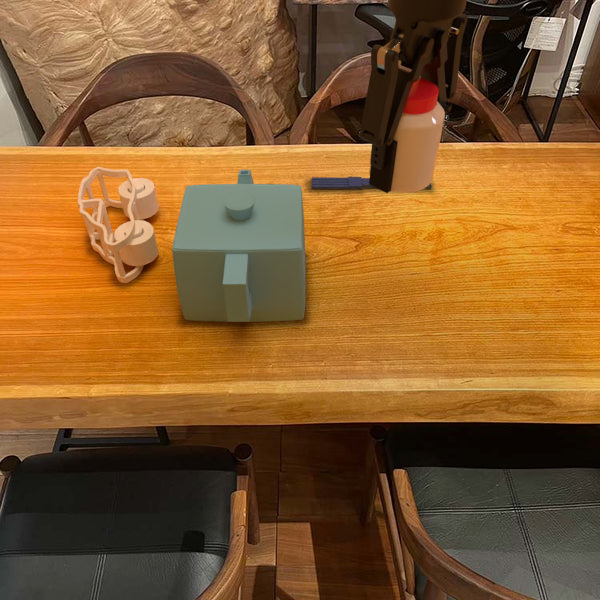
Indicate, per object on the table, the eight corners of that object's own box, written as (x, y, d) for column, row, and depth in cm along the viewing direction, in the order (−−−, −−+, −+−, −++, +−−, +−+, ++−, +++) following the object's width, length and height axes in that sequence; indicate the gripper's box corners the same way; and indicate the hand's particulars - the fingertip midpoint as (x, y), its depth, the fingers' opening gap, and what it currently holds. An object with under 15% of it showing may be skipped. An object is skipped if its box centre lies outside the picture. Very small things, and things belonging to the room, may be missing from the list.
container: (177, 347, 77) (156, 261, 66) (199, 227, 95) (185, 143, 83) (306, 347, 77) (307, 260, 66) (304, 227, 95) (305, 142, 84)
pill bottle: (382, 197, 68) (393, 110, 60) (360, 161, 73) (367, 77, 65) (443, 187, 70) (462, 100, 62) (417, 152, 75) (431, 68, 67)
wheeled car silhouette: (160, 279, 86) (151, 241, 81) (83, 287, 85) (69, 249, 80) (160, 198, 100) (153, 161, 95) (94, 205, 99) (82, 167, 93)
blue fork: (429, 180, 103) (429, 177, 103) (431, 190, 102) (431, 186, 101) (311, 180, 104) (311, 176, 103) (311, 189, 102) (311, 185, 101)
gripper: (457, -66, 62) (424, 129, 78) (329, -16, 51) (322, 196, 68) (522, -51, 58) (472, 150, 75) (398, 6, 48) (373, 224, 64)
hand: (401, 172), depth 71 cm, fingers closed on pill bottle, 8 cm apart
